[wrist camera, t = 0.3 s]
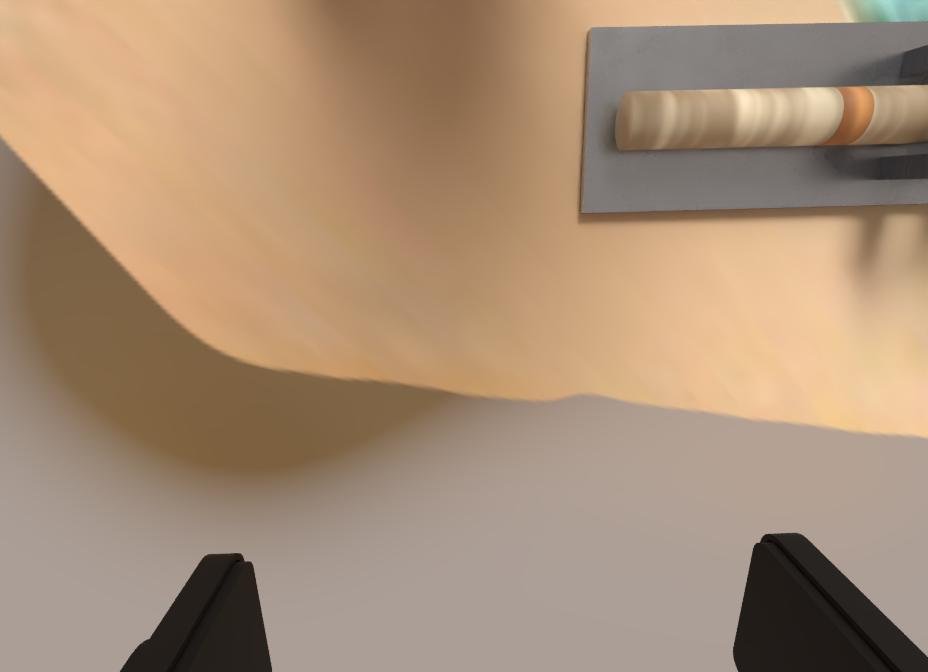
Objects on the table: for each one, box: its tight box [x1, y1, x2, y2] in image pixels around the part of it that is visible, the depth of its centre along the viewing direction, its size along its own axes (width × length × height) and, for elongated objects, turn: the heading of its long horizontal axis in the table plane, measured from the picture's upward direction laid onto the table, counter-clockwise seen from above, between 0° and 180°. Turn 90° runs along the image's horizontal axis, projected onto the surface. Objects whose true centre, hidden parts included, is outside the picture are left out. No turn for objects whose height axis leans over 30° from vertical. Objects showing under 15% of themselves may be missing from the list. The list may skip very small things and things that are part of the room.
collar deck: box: [580, 21, 928, 213], centre depth 31 cm, size 12×40×9 cm, turn 91°
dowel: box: [615, 85, 928, 150], centre depth 32 cm, size 24×4×4 cm, turn 91°
